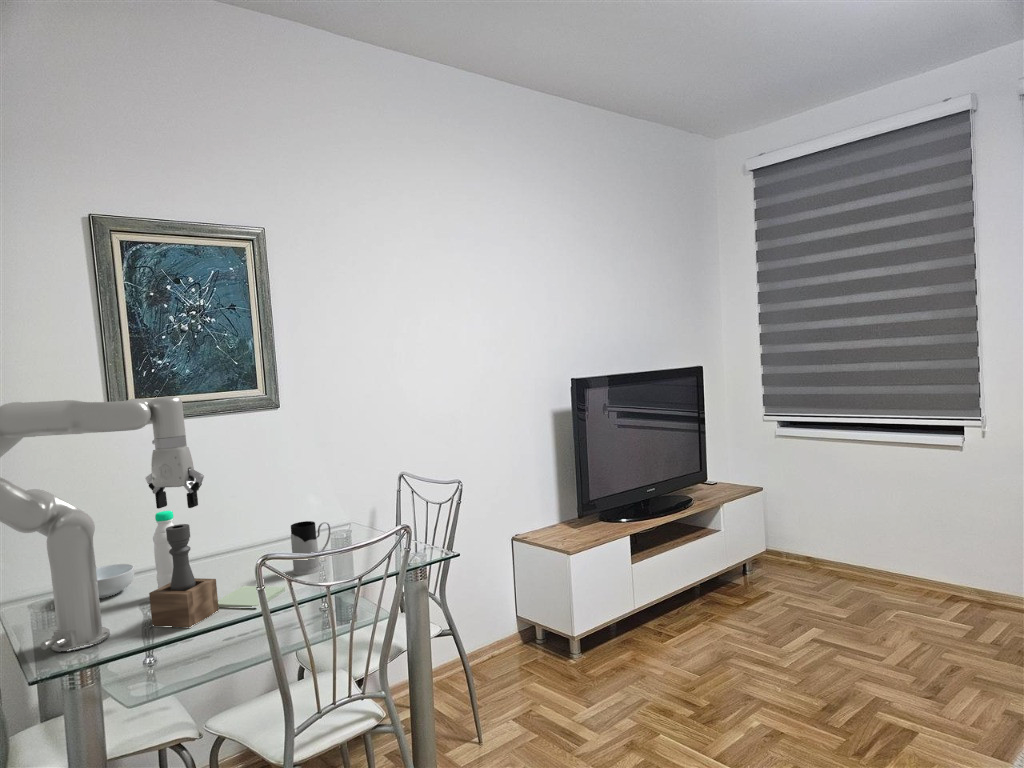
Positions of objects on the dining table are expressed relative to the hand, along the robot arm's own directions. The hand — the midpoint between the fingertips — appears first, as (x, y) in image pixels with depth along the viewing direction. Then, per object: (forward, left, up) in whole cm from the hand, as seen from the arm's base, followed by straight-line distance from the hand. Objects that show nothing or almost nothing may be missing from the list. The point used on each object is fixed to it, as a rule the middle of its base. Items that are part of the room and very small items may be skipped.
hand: (177, 507), depth 185 cm
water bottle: (+16, +18, -31) cm, 39 cm away
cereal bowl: (+15, +41, -31) cm, 53 cm away
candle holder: (0, 0, -31) cm, 31 cm away
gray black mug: (+42, -14, -31) cm, 53 cm away
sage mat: (+15, -9, -30) cm, 35 cm away
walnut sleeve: (0, 0, -30) cm, 30 cm away
